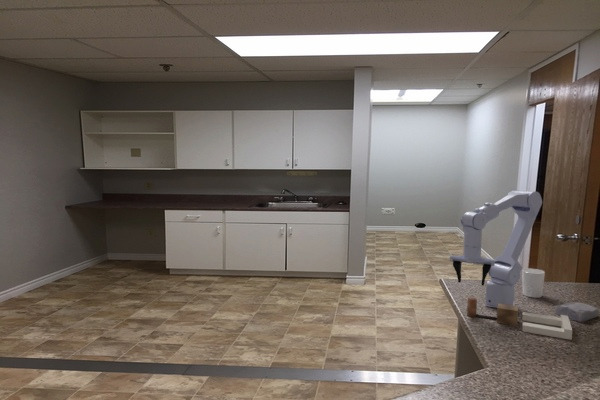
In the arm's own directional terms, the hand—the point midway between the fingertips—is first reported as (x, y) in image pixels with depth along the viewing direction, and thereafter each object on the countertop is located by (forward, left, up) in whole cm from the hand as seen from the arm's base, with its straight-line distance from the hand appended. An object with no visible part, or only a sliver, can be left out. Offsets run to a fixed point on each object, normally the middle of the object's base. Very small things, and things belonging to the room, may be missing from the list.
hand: (471, 283), depth 143 cm
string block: (+7, -4, -10) cm, 13 cm away
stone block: (+33, +14, -11) cm, 37 cm away
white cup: (+20, +31, -11) cm, 38 cm away
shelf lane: (+22, -4, -10) cm, 25 cm away
